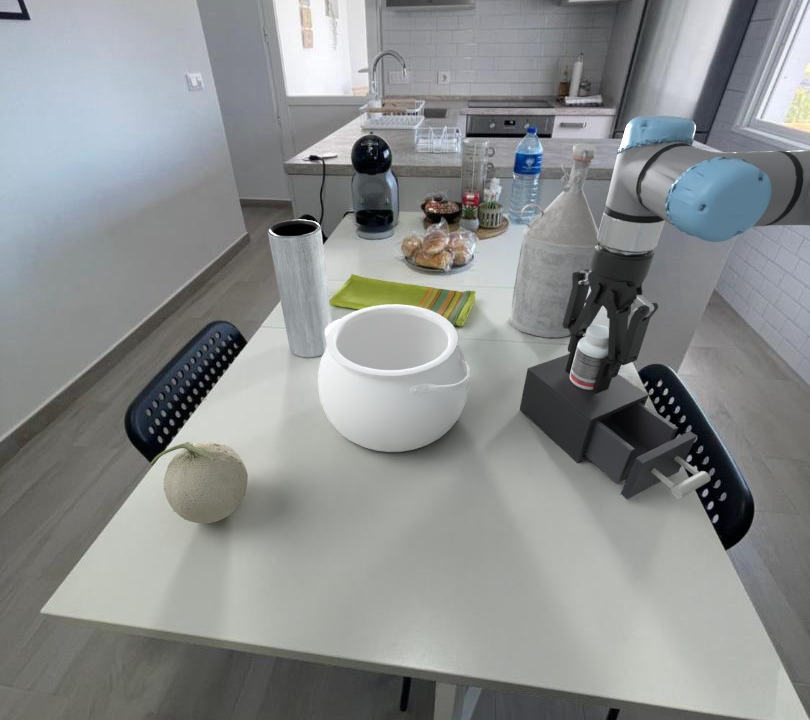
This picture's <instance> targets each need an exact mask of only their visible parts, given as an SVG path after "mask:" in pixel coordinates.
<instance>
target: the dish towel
mask: <svg viewBox="0 0 810 720" xmlns="http://www.w3.org/2000/svg"><path fill="white" fill-rule="evenodd" d="M476 292H477V291H476V290H464V291H460V290H453V289H445V288H438V287H432V286H425V285H420V284H419V285H418V284H413V283H403V282H396V281H389V280H382V279H376V278H370V277H364V276H361V275H357V274H353V273H351V274H350V277H349V278H348V279H347V280H346V281H345V282H344V283H343V285H342V286H341V287H340V288H339V289H338V290H337V291H336V292H335V293H333V295H332V296H331V297H330V298H329V300H330V306H334V307H340V308H348V309H352V310H361V309H364V308H368V307H372V306H379V305H394V304H398V305H410V306H416V307H421V308H424V309H428V310H431V311H433V312H435V313H438V314H439V315H441V316H443V317H444V318H446V319H447V320H448V321H449V322H450V323H451V324H452V325H453V326H454V327H455V326H457V327H460V328H461V327H463V326H464V325H465V323H466V322H467V319H468V317H469V315H470V312H471V310H472V309H473V307H474V304H475V302H476Z"/></svg>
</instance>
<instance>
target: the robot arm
mask: <svg viewBox="0 0 810 720" xmlns="http://www.w3.org/2000/svg"><path fill="white" fill-rule="evenodd" d="M696 129H697V125H696V123H695V122H694V121H693V120H692V119H690V118H687V117H682V116H674V115H640V116H636V117H634V118H632V119H631V120H630V121H629V122H628V123H627V124H626V127H625V129H624V132H623V136H622V139H621V143H620V146H619V148H618V149H617V151H616V157H615V158H616V159H615V163H614V168H613V171H612V176H611V180H610V184H609V188H608V193H607V198H606V200H605V201H606V202H605V207H604V209H603V213H602V217H601V221H600V224H599V228H598V235H597V240H598V241H599V242H598V243H597V244H596V245H595V248H594V252H593V256H592V260H591V265H590V266H591V271H590V272H589V270H588V269H585V270H581V271H577V272H574V273H573V274H572V285H573V287H572V290H571V294H570V298H569V302H568V305H567V309H566V313H565V317H564V321H563V327H564V328H565V329H568V330H569V331H570V335H569V336H570V338H569V341H568V346H567V352H568V354H569V358H568V362H567V366H566V370H565V371H566V372H567V373H570V372H571V368H572V364H573V361H574V357H575V353H576V349H577V345H578V342H579V340H580V339H581V338H583V337H585V333H586V331H587V328H588V327H589V326H591V325H592V323H593V322H594V320H595V319H596V317H597V315H598V314H599V313H600V310H601V309H602V308H603V307H604V308H605V309H606V317H607V319H608V328H609V343H608V357H605V358H603V359H602V362H601V365H600V368H599V372H598V375H597V378H596V381H595V385H594V388H593V392H594V393H595V394H597V393H600V392H602V391H604V390H607V389H608V388H609V385H610V382H611V379H612V378H614V377H616V376H617V375H618V374H619V372H620V369H621V367H622V366H626V365H629V364H632V363H634V362H636V361H637V360H638V358H639V356H640V351H641V349H642V346H643V342H644V339H645V336H646V332H647V330H648V328H649V327H648V326H649V324H650V320H651V318H652V317H653V316H654V314H655V313H656V312H657V311H658V309H659V304H658V303H657V302H655V301H652V302H649V300H647V299H646V298H645V296H643V283H644V282H645V280H646V278H647V276H648V274H649V272H650V269H651V265H652V262H653V259H654V257H655V251H654V249H656V248H657V246H658V244H659V241H660V237H661V234H662V231H663V228H664V226H665V223H666V222H667V223H669V224H671V225H672V226H673V227H674V228H675V229H677V230H678V231H680V232H681V233H684V234H686V235H688V236H691V237H696V238H697V239H700V240H702V241H706V242H711V243H719V242H721V243H723V242H726V241H729V240H731V239H732V238H734V237H736V236H738V235H741V234H744V233H746V232H747V231H749V230H750V229H751V228H753V227H756V228H757V227H767V226H810V149H803V150H801V149H799V150H771V151H769V150H768V151H766V150H765V151H764V150H763V151H731V152H730V151H729V152H728V151H727V152H725V151H724V152H722V151H721V152H719V151H712V150H706V149H703V148H699V147H696V146H693V144H694V141H695V140H694V138H695V135H696ZM589 286H590V287H589ZM588 290H589V291H590V292H589V291H588ZM587 294H588V295H587ZM586 297H587V298H586ZM584 304H585V305H584ZM632 304H634V307H633V309H632ZM631 313H632V315H631ZM630 315H631V318H630V321H629V316H630Z"/></svg>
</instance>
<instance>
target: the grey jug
mask: <svg viewBox="0 0 810 720" xmlns="http://www.w3.org/2000/svg"><path fill="white" fill-rule="evenodd" d="M595 152H596V147H595V146H593V145H592V144H587V143H576V144H574V145H573V146H572V155H571V168H570V173H569V171H567V172H566V169H565V165H564V164H563V163H561V164H560V167H561V170H562V171H563V174H564V175H563V176H562V177H561V178H560V181H559V182H560V184H561V186H562V187H563V188H562V191H561V193H560V194H559V195H557V196H556V198H554V200H553V201H552V202H551V203H550V204H549V205H548V206H547V207H546V208H545V209H544V210H542V208H541V206H540V205H539V204H538V203H536V202H535V203H534V202H531V203H528V204H526V205H525V206H524V207H522V209H521V211H520V216H523V213H524V211H525V210H526V209H528V208H529V207H535V208H537V209H538V210H539V211H540V212H539V214H538V215H537V217H536V218H535V219H534V220H533V221H532V222H530V223H527V222H525V221H524V220H523V218H522V217H520V222H521V223H523V224H524V225H525V226H526V228H525V229H524V230H523V233H522V234H523V236H522V241H521V247H520V251H519V257H518V264H517V269H516V275H515V281H514V286H513V294H512V302H511V309H510V316H509V322H510V323H511V325H512V326H513V327H514V328H515V329H517V330H518V331H520V332H523V333H524V334H527V335H528V334H529V335H531V336H536V337H542V338H546V339H548V338H549V339H550V338H556V339H558V338H565V337H569V336H570V331H569V330H568V329H565V328H564V327H563V321H564V317H565V313H566V309H567V305H568V302H569V298H570V294H571V290H572V287H573V285H572V274H573V273H574V272H577V271H581V270H585V269H588V270H589V272H590V271H591V266H590V265H591V260H592V256H593V252H594V248H595V245H596V244H597V243H598V242H599V241H598V240H597V235H598V231H599V228H598V226H597V224H596V221H595V219H594V216H593V214H592V211H591V208H590V205H589V202H588V200H587V197H586V194H585V192H584V185H585V182H586V179H587V175H588V172H589V168H590V165H591V163H592V160H594V158H595V155H594V154H595ZM565 184H566V185H565ZM589 288H590V286H589ZM589 291H590V289H589V290H588V292H589ZM588 296H589V293H588V294H587V297H588ZM587 297H586V299H587ZM585 304H586V303H585ZM585 304H584V306H585Z"/></svg>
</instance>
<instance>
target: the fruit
mask: <svg viewBox="0 0 810 720" xmlns="http://www.w3.org/2000/svg"><path fill="white" fill-rule="evenodd" d="M180 449H181V450H180ZM176 450H180V451H179V452H177V453H176V454H175V455H174V456H173V457H172V459H171V460H170V462H169V463H168V465H167V468H166V470H165V473H164V477H163V492H164V496H165V498H166V501H167V503H168V504H169V506H170V508H171V509H172V510H173V512H174V513H176V514H177V515H178V517H180V518H182V519H183V520H185V521H188V522H191V523H195V524H210V523H216V522H218V521H221V520H223V519H225V518H227V517H229V516H230V515H231V514H233V513H234V512H235V510H237V509H238V507H240V504H241V503H242V501H243V500H244V498H245V496H246V492H247V489H248V488H247V487H248V479H249V478H248V475H249V474H248V470H247V467H246V466H245V465H246V464H245V463H244V460H242V458H241V456H240V455H239V454H238V453H237V452H236V451H235V450H234V449H233V448H232V447H231V446H229V445H227V444H225V443H222V442H219V441H199V442H196V443H192V442H191V441H187V442H183V443H179V444H177V445H174V446H172V447H170V448H167V449H165V450H163V451H161V452H160V453H158V454H157V455H156V456H154V458H153V459H152V461H151V462H150V464H149V465H150V467H152V466H153V465H154V463H156V461H158V459H160V458H161V457H163V456H164V455H166V454H169V453H170V452H173V451H176Z"/></svg>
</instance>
